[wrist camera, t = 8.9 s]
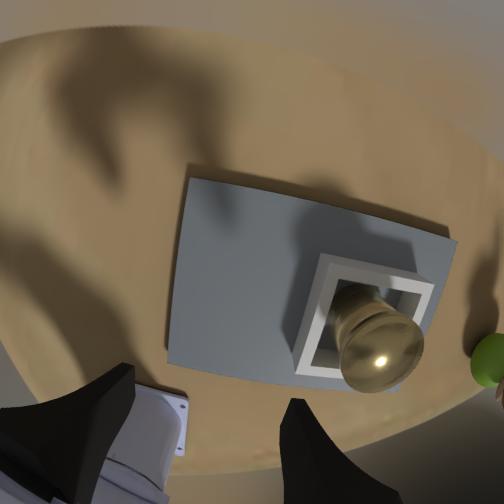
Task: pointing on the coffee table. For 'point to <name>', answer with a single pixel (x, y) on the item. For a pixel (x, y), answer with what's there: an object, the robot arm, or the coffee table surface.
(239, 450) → the coffee table surface
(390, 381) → the brass door knob
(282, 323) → the fitting board
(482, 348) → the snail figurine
